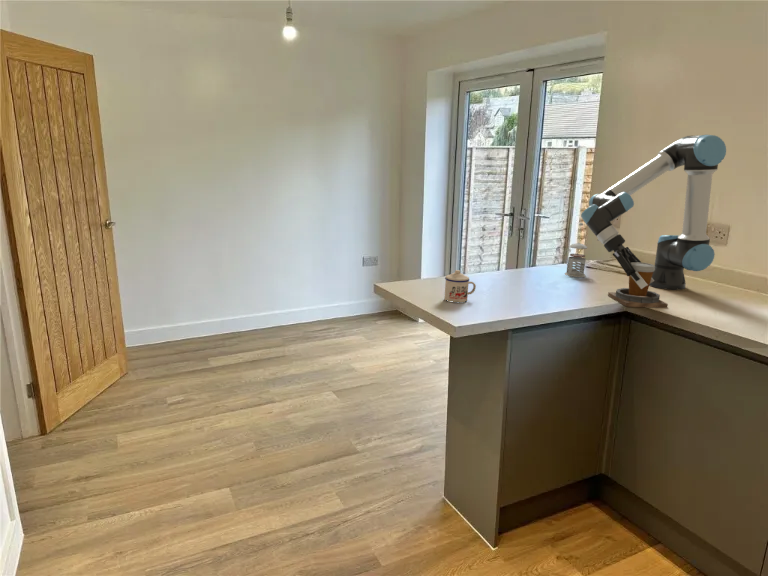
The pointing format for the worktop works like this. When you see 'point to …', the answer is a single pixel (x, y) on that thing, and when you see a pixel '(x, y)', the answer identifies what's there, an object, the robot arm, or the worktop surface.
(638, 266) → the disposable coffee cup
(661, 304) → the docking plate
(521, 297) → the worktop surface
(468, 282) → the teacup with lid
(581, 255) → the french press
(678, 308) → the worktop surface
